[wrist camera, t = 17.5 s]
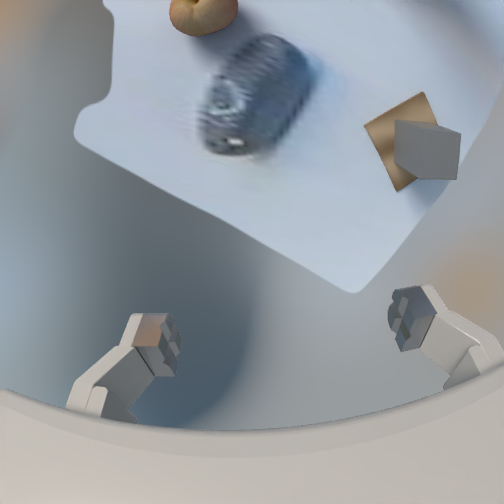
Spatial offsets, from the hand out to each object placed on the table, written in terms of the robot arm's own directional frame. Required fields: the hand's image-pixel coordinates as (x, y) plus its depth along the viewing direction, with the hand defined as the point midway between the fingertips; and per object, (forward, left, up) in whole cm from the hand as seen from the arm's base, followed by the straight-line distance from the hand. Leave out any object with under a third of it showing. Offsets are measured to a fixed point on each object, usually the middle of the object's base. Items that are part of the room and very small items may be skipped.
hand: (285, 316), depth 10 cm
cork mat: (+12, +20, -31) cm, 39 cm away
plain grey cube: (+12, +20, -31) cm, 39 cm away
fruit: (-19, +6, -31) cm, 37 cm away
